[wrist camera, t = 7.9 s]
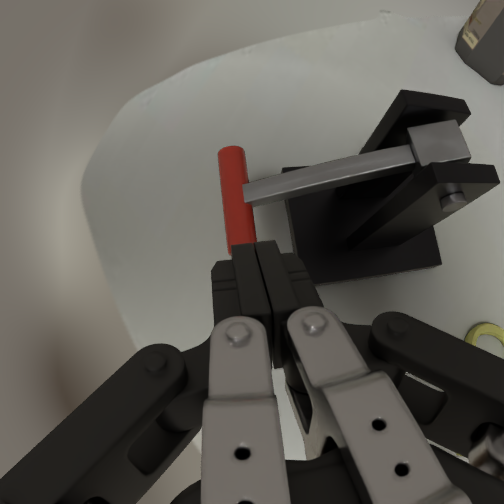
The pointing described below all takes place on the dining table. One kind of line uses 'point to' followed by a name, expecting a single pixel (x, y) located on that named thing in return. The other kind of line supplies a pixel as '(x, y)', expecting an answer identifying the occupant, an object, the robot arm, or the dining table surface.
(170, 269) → the dining table surface
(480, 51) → the liquor
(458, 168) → the switch bracket
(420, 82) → the dining table surface
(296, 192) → the lever
